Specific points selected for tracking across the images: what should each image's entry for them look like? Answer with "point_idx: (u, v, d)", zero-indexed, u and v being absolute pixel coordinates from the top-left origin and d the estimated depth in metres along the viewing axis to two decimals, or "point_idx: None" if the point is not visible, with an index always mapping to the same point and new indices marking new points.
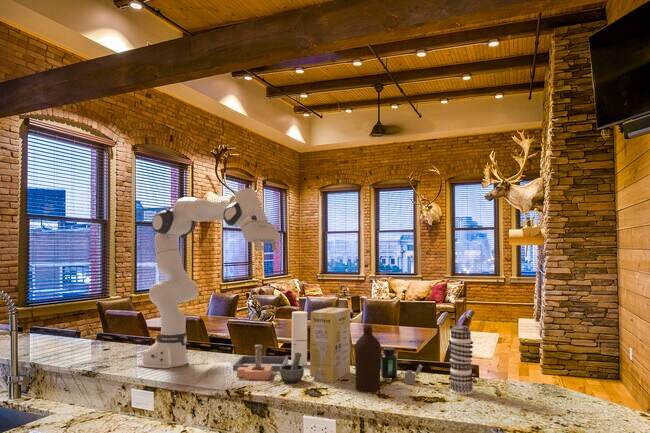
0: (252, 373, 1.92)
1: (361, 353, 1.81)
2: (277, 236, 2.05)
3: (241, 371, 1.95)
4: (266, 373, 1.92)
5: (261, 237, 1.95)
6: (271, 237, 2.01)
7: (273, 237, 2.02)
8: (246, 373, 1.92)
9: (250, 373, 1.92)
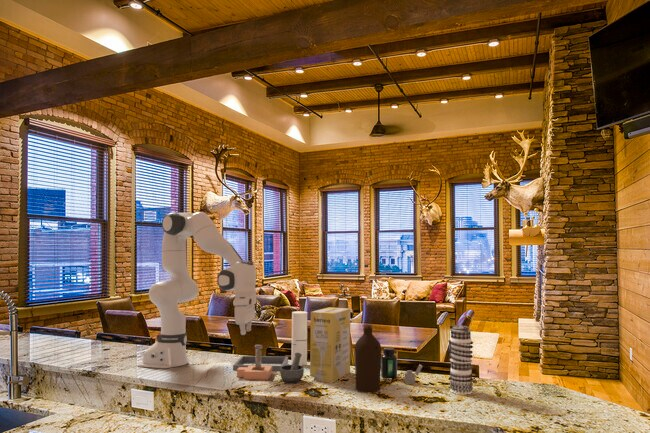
0: (252, 373, 1.92)
1: (361, 353, 1.81)
2: (254, 316, 2.06)
3: (241, 371, 1.95)
4: (266, 373, 1.92)
5: (247, 321, 1.94)
6: (251, 318, 2.01)
7: (252, 318, 2.02)
8: (246, 373, 1.92)
9: (250, 373, 1.92)
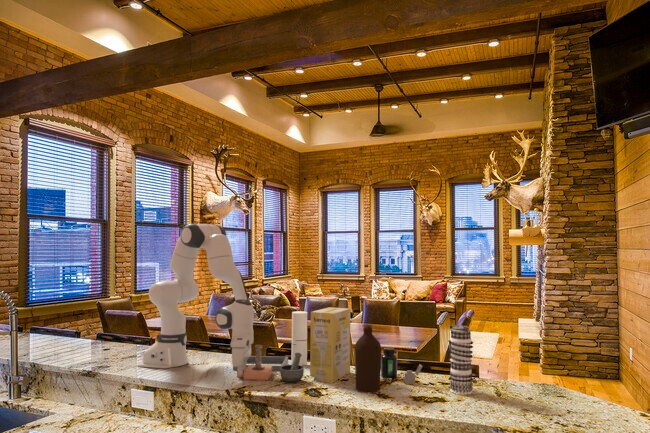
0: (252, 373, 1.92)
1: (361, 353, 1.81)
2: (250, 354, 2.05)
3: None
4: (266, 373, 1.92)
5: (244, 362, 1.94)
6: (248, 358, 2.00)
7: (248, 357, 2.02)
8: (246, 373, 1.92)
9: (250, 373, 1.92)
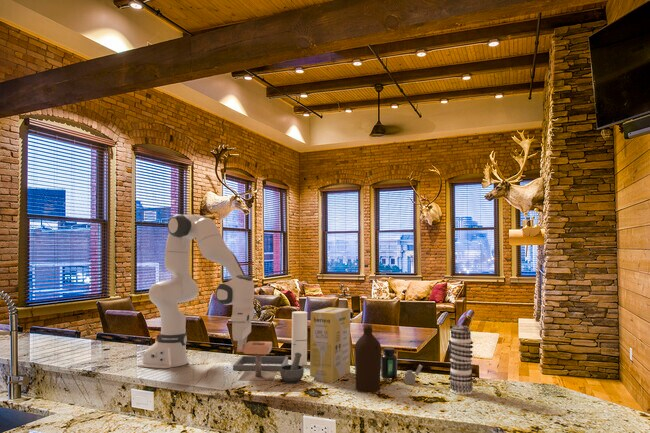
0: (252, 348, 1.93)
1: (361, 353, 1.81)
2: (250, 330, 2.06)
3: None
4: (266, 348, 1.93)
5: (244, 337, 1.94)
6: (248, 333, 2.01)
7: (248, 333, 2.03)
8: (246, 348, 1.93)
9: (250, 348, 1.93)
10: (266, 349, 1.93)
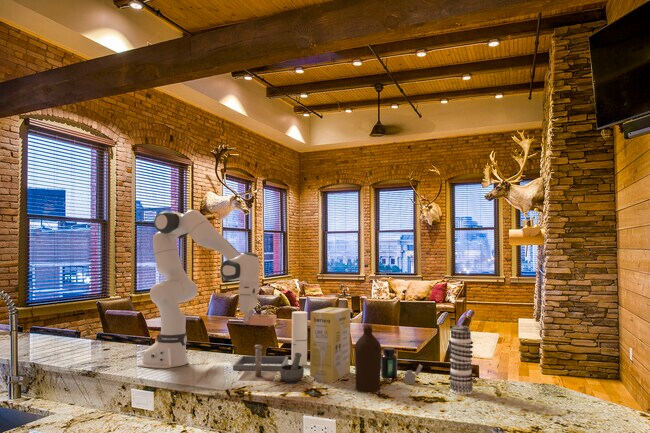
0: (258, 319, 2.05)
1: (361, 353, 1.81)
2: (256, 305, 2.18)
3: None
4: (271, 319, 2.05)
5: (250, 309, 2.07)
6: (253, 307, 2.14)
7: (254, 306, 2.15)
8: (252, 319, 2.05)
9: (256, 319, 2.05)
10: (271, 320, 2.05)
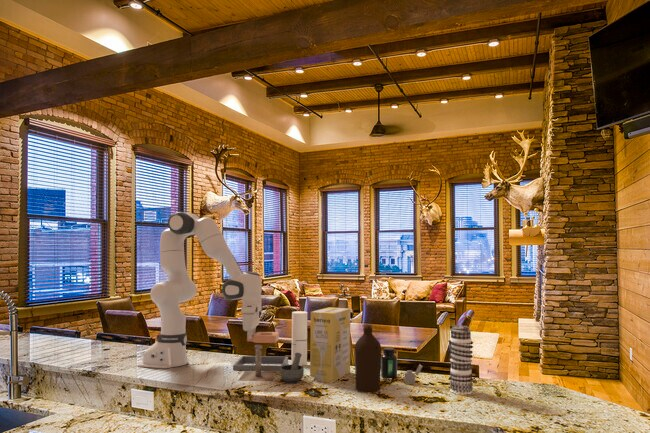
0: (261, 337, 2.11)
1: (361, 353, 1.81)
2: (258, 322, 2.24)
3: None
4: (274, 337, 2.10)
5: (253, 327, 2.12)
6: (256, 325, 2.19)
7: (257, 324, 2.20)
8: (255, 337, 2.11)
9: (259, 337, 2.11)
10: (274, 338, 2.10)
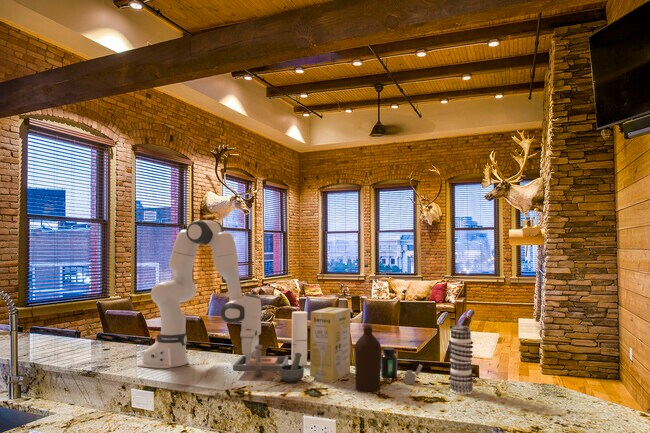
0: None
1: (361, 353, 1.81)
2: (257, 344, 2.23)
3: None
4: (272, 364, 2.10)
5: (252, 351, 2.11)
6: None
7: None
8: (254, 364, 2.10)
9: None
10: None
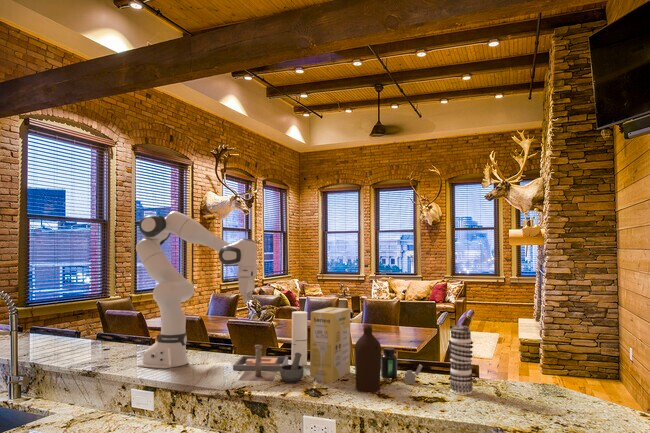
0: None
1: (361, 353, 1.81)
2: (254, 287, 2.35)
3: (249, 362, 2.13)
4: (272, 364, 2.10)
5: (249, 291, 2.23)
6: (252, 289, 2.30)
7: (252, 289, 2.32)
8: (254, 364, 2.10)
9: None
10: None
